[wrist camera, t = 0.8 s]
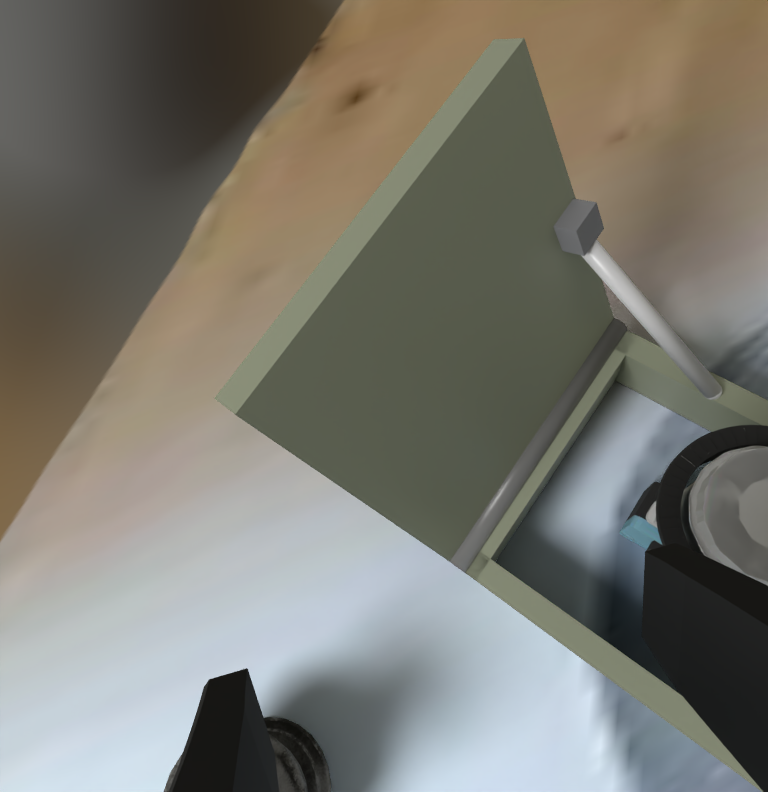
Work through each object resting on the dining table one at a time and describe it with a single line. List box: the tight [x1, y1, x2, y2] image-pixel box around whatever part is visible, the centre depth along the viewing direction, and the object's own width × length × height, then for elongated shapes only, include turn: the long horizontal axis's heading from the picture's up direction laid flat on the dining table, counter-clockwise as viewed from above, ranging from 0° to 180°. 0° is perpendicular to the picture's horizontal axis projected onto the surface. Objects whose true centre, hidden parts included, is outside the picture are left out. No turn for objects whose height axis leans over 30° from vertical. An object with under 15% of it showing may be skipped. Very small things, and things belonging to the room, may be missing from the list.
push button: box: [620, 425, 768, 585], centre depth 19 cm, size 7×5×10 cm
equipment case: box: [215, 38, 768, 792], centre depth 18 cm, size 18×12×15 cm, turn 53°
